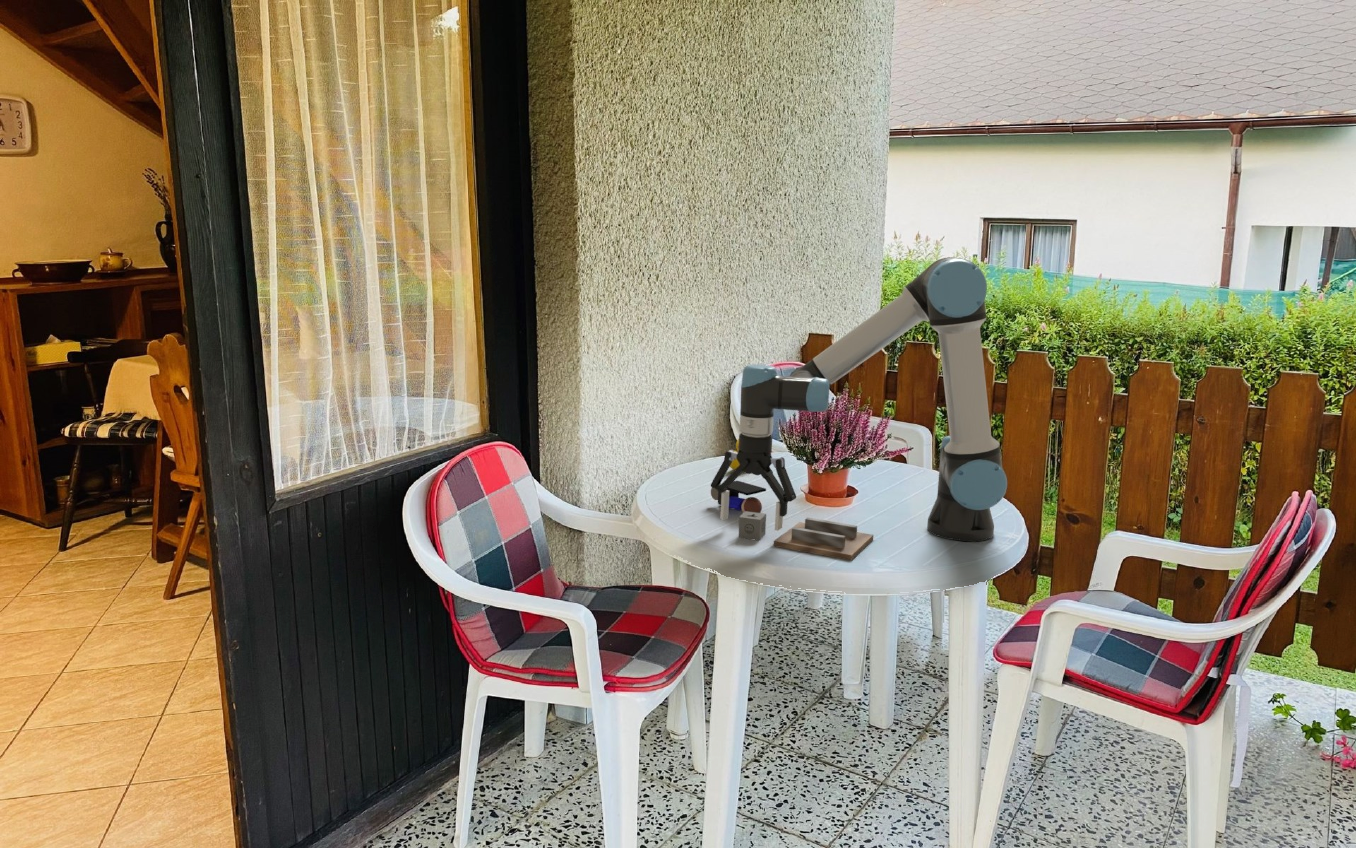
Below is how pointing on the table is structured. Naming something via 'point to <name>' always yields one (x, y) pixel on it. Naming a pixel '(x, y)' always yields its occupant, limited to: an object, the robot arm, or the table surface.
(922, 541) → the table surface
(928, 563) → the table surface
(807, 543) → the cradle
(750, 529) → the dice cube
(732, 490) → the figurine character
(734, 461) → the duckling
